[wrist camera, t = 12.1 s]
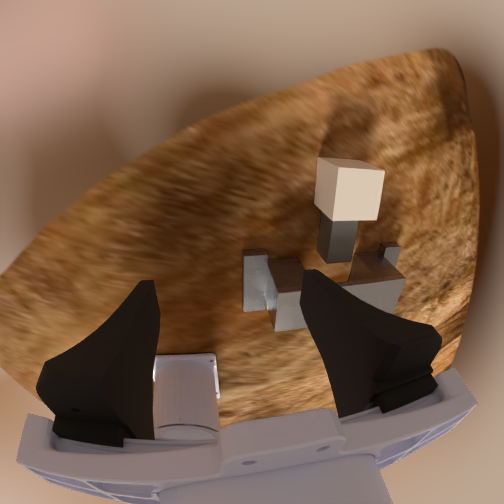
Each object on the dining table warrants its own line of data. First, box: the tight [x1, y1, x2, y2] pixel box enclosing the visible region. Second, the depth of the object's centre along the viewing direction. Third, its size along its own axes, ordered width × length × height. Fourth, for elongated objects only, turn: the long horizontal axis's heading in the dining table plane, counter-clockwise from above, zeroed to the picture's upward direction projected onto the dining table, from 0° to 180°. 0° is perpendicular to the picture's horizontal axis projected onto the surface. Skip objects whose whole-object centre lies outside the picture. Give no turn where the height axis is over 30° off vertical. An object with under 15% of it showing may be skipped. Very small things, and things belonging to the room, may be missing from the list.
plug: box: [314, 157, 385, 264], centre depth 22 cm, size 8×4×4 cm, turn 179°
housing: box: [242, 242, 406, 332], centre depth 25 cm, size 6×16×5 cm, turn 88°
